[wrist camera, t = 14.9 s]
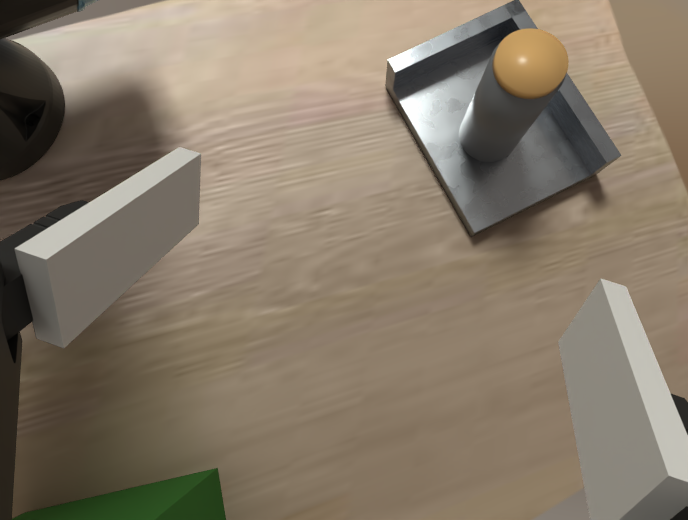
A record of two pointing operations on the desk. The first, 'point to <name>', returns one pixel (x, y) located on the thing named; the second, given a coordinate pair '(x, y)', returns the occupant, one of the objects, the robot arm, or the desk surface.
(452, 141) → the plate
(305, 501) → the desk surface
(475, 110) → the grey cylinder orange top
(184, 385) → the desk surface
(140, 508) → the hardback book
